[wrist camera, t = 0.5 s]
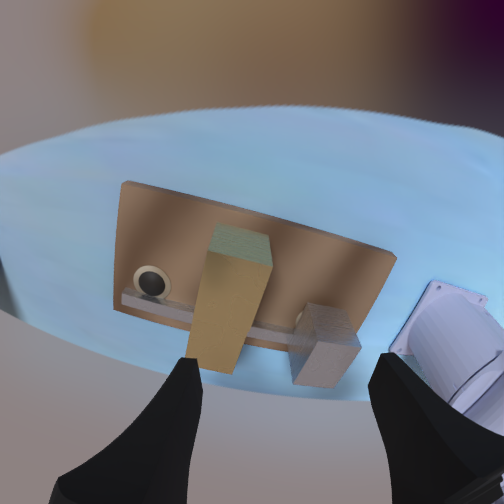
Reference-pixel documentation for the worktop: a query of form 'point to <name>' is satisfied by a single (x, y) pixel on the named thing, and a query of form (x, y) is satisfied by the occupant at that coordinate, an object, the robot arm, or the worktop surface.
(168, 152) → the worktop surface
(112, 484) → the robot arm
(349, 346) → the grey piece
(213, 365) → the divider leg
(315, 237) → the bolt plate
